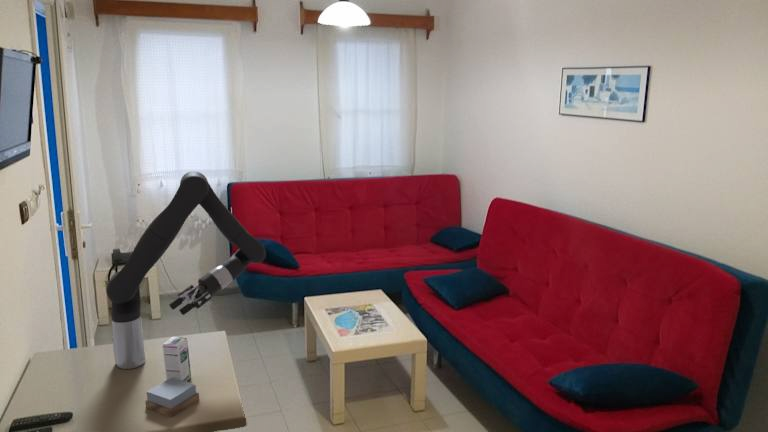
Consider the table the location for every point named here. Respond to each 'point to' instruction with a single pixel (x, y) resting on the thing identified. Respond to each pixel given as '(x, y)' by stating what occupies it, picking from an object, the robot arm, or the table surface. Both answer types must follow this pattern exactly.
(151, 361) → the table surface
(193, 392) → the tower top
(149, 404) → the tower base
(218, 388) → the table surface
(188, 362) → the syrup box
